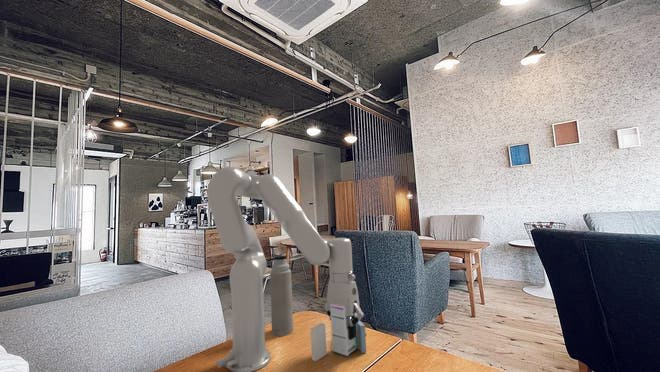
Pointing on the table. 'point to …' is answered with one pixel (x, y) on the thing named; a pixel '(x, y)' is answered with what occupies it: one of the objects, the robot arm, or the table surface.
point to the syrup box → (341, 331)
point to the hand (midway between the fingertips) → (343, 334)
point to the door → (361, 336)
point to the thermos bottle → (281, 297)
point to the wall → (318, 341)
